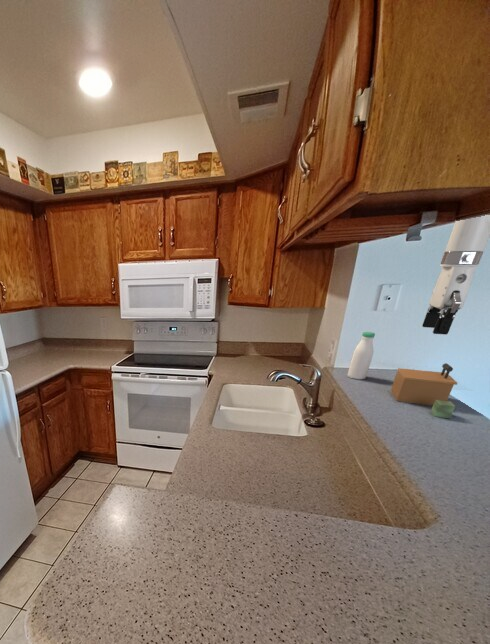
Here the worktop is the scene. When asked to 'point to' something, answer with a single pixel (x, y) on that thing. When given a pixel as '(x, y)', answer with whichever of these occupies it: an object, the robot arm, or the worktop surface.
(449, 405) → the block
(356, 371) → the milk bottle
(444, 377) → the flap
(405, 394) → the carton
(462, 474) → the worktop surface
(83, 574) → the worktop surface
